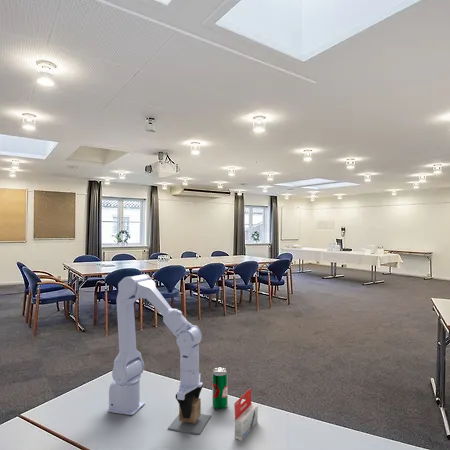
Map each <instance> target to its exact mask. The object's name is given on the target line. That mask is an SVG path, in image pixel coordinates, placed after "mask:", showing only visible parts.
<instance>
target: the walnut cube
mask: <svg viewBox="0 0 450 450" xmlns="http://www.w3.org/2000/svg"><path fill="white" fill-rule="evenodd" d="M201 399H202V398H200V397H199V398H194V400H193V403H192V409H191V416H190V418H189V419H187V418H183V416H182V412H181V408H180V405H179V404H178V412H179V413H178V415H179V421H181V422H188V423H194V424H195V423H196V421H197V420H198V418H199V417H200V415H201V414H202V412H201V411H202V410H201V409H202V407H201V401H202V400H201Z"/></svg>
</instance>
